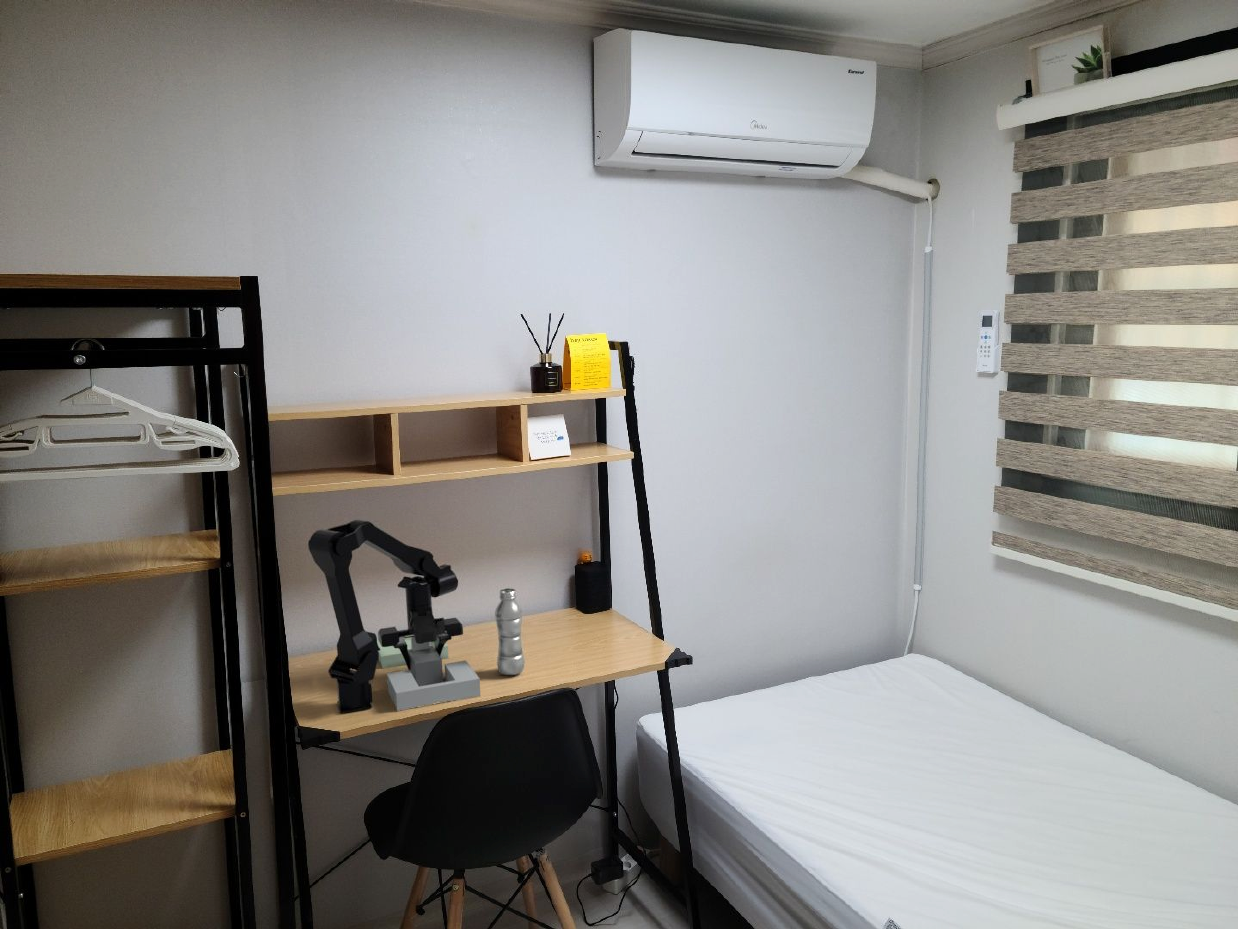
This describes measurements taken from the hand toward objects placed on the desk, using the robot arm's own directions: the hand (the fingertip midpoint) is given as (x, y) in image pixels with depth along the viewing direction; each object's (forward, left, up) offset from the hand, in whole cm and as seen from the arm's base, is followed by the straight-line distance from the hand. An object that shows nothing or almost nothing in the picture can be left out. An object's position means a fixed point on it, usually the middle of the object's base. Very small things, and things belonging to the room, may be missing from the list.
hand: (422, 667), depth 210 cm
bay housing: (0, -11, -2) cm, 11 cm away
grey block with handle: (0, -3, -2) cm, 3 cm away
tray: (0, +17, -2) cm, 17 cm away
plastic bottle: (+19, -8, -2) cm, 21 cm away
